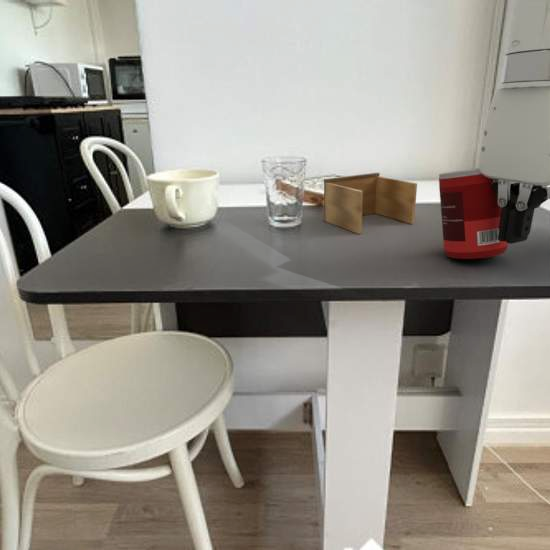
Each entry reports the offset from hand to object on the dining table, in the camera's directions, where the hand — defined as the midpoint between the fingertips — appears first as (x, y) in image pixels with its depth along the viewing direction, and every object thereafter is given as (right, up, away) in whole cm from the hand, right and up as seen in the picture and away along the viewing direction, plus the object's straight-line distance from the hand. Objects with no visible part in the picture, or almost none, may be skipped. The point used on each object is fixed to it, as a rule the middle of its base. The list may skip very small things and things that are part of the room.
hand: (512, 240), depth 53 cm
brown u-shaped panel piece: (-12, +5, +26) cm, 29 cm away
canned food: (-2, -1, +6) cm, 6 cm away
